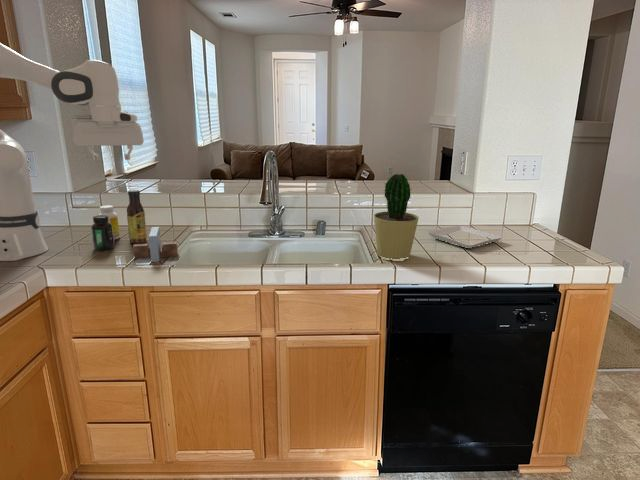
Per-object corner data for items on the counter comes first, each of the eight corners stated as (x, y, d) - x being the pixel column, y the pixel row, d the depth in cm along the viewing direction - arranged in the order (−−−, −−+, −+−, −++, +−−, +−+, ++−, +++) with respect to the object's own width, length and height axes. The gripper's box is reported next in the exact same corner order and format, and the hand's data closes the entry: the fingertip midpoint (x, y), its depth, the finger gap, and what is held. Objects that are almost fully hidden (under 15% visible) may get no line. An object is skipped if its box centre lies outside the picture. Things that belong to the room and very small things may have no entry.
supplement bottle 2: (102, 252, 154) (97, 219, 150) (90, 249, 157) (85, 217, 153) (119, 247, 159) (115, 215, 156) (106, 244, 162) (102, 213, 159)
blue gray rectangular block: (151, 262, 144) (148, 236, 142) (154, 251, 156) (151, 227, 153) (158, 261, 145) (156, 235, 142) (161, 250, 156) (159, 226, 154)
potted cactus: (410, 250, 161) (417, 169, 153) (419, 264, 147) (427, 175, 138) (369, 249, 161) (373, 168, 153) (374, 263, 147) (378, 175, 138)
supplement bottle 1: (120, 235, 174) (117, 204, 170) (119, 240, 168) (115, 207, 164) (102, 236, 172) (98, 205, 168) (100, 241, 166) (95, 208, 162)
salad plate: (502, 244, 171) (503, 236, 170) (469, 253, 160) (470, 244, 159) (458, 232, 188) (459, 224, 187) (425, 239, 176) (426, 231, 175)
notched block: (134, 259, 147) (133, 246, 146) (135, 256, 149) (134, 244, 148) (177, 255, 151) (176, 243, 150) (177, 253, 153) (176, 241, 152)
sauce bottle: (141, 244, 163) (135, 192, 157) (126, 243, 164) (120, 191, 158) (150, 239, 169) (145, 189, 163) (136, 238, 170) (130, 188, 164)
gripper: (67, 115, 131) (74, 161, 135) (139, 116, 136) (144, 160, 140) (72, 115, 137) (79, 159, 141) (141, 115, 142) (146, 158, 146)
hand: (112, 159), depth 140 cm, fingers open, 8 cm apart
